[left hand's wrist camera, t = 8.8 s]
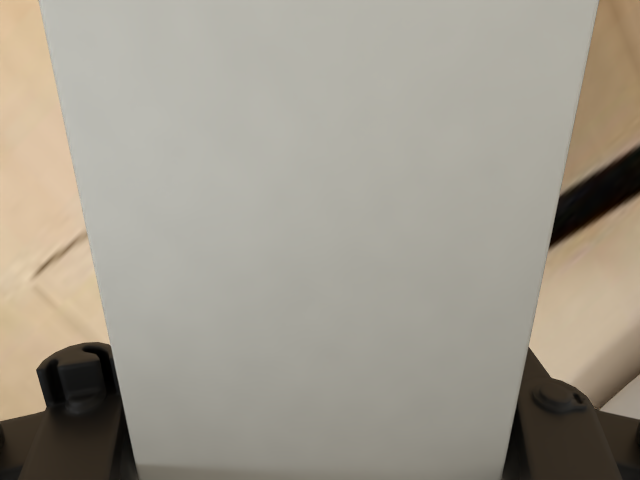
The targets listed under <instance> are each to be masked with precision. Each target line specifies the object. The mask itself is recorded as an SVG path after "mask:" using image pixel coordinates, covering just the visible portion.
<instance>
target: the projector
mask: <svg viewBox="0 0 640 480" xmlns="http://www.w3.org/2000/svg"><path fill="white" fill-rule="evenodd" d="M600 411H604V412H608V413H612V414H617V415H621V416H626V417H631V418H635V419H640V374H639V375H638V376H637V377H636V378H635V379H633V380H632V381H631V382H630V383H628V384H627V385H626V386H625V387H624V388H623V389H622V390H621V391H619V392H618V393H617V394H616V395H615V396H614V397H613V398H612V399H610V400H609V401H608V402H607V403H606V404H605V405H604V406H603V407H602V408H601V409H600Z"/></svg>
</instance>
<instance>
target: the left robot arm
mask: <svg viewBox="0 0 640 480" xmlns="http://www.w3.org/2000/svg"><path fill="white" fill-rule="evenodd" d="M36 371H37V375H38V378H39V382H40V385H41V389H42V392H43V396H44V399H45V403H46V406H47V407H46V410H45V411H43V412H39V413H36V414H32V415H27V416H23V417H18V418H13V419H9V420H4V421H0V480H139V478H138V473H137V468H136V464H135V459H134V454H133V449H132V444H131V440H130V435H129V430H128V425H127V421H126V416H125V411H124V406H123V401H122V397H121V392H120V387H119V382H118V378H117V373H116V368H115V363H114V358H113V354H112V349H111V346H110V345H109V344H104V343H100V342H91V343H81V344H77V345H73V346H69V347H67V348H64V349H62V350H60V351H58V352H55V353H54V354H52V355H51V356H49V357H48V358H46V359H45V360H44V361H43V362H42V363H41V364H40V365H39V367H38V368H37V369H36ZM501 480H640V419H635V418H631V417H626V416H621V415H617V414H612V413H608V412H604V411H600V410H597V409H594V406H593V405H592V403H591V402H590V400H589V399H588V398H587V396H586V395H584V394H583V393H582V392H580V391H579V390H578V389H577V388H575V387H573V386H571V385H569V384H567V383H565V382H563V381H560V380H556V379H553V378H551V377H550V375H549V374H548V373H547V371H546V370H545V369H544V367H543V366H542V364H541V363H540V362H539V360H538V359H537V358H536V356H535V355H534V353H533V352H532V351H531V349H530V348H529V347H528V351H527V356H526V361H525V366H524V371H523V375H522V380H521V385H520V390H519V395H518V400H517V405H516V410H515V415H514V419H513V424H512V429H511V434H510V439H509V444H508V449H507V454H506V459H505V463H504V468H503V473H502V478H501Z"/></svg>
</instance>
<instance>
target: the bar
mask: <svg viewBox="0 0 640 480" xmlns="http://www.w3.org/2000/svg"><path fill="white" fill-rule="evenodd" d="M598 4H599V0H39V5H40V9H41V14H42V19H43V24H44V28H45V33H46V38H47V43H48V48H49V52H50V57H51V62H52V67H53V72H54V76H55V81H56V86H57V91H58V95H59V100H60V105H61V110H62V115H63V119H64V124H65V129H66V134H67V138H68V143H69V148H70V153H71V158H72V162H73V167H74V172H75V177H76V181H77V186H78V191H79V196H80V201H81V205H82V210H83V215H84V220H85V225H86V229H87V234H88V239H89V244H90V248H91V253H92V258H93V263H94V268H95V272H96V277H97V282H98V287H99V291H100V296H101V301H102V306H103V311H104V315H105V320H106V325H107V330H108V335H109V339H110V344H111V349H112V354H113V358H114V363H115V368H116V373H117V378H118V382H119V387H120V392H121V397H122V401H123V406H124V411H125V416H126V421H127V425H128V430H129V435H130V440H131V444H132V449H133V454H134V459H135V464H136V468H137V473H138V478H139V480H501V478H502V473H503V468H504V463H505V459H506V454H507V449H508V444H509V439H510V434H511V429H512V424H513V419H514V415H515V410H516V405H517V400H518V395H519V390H520V385H521V380H522V375H523V371H524V366H525V361H526V356H527V351H528V346H529V341H530V336H531V331H532V327H533V322H534V317H535V312H536V307H537V302H538V297H539V292H540V287H541V283H542V278H543V273H544V268H545V263H546V258H547V253H548V248H549V243H550V238H551V234H552V229H553V224H554V219H555V214H556V209H557V204H558V199H559V194H560V190H561V185H562V180H563V175H564V170H565V165H566V160H567V155H568V150H569V146H570V141H571V136H572V131H573V126H574V121H575V116H576V111H577V106H578V102H579V97H580V92H581V87H582V82H583V77H584V72H585V67H586V62H587V58H588V53H589V48H590V43H591V38H592V33H593V28H594V23H595V18H596V14H597V9H598Z"/></svg>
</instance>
